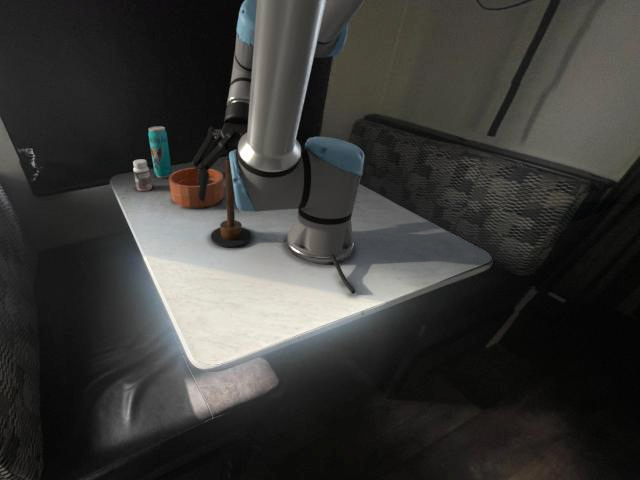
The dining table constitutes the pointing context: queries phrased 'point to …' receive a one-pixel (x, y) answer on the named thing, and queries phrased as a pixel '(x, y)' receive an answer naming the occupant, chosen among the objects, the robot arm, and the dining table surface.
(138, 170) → the pill bottle
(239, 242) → the disc
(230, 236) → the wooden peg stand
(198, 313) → the dining table surface
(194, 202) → the bowl
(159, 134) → the beverage can
